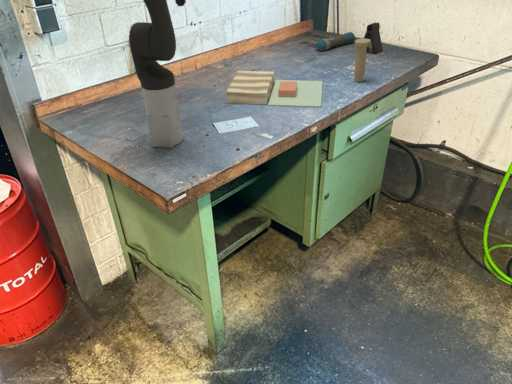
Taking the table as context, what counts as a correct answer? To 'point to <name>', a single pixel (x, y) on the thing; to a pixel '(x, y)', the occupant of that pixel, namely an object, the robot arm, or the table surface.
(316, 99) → the mat
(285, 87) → the salmon orange block
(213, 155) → the table surface
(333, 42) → the flashlight
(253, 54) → the table surface
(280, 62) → the table surface
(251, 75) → the deck
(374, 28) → the phone stand
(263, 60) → the table surface
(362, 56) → the handle
